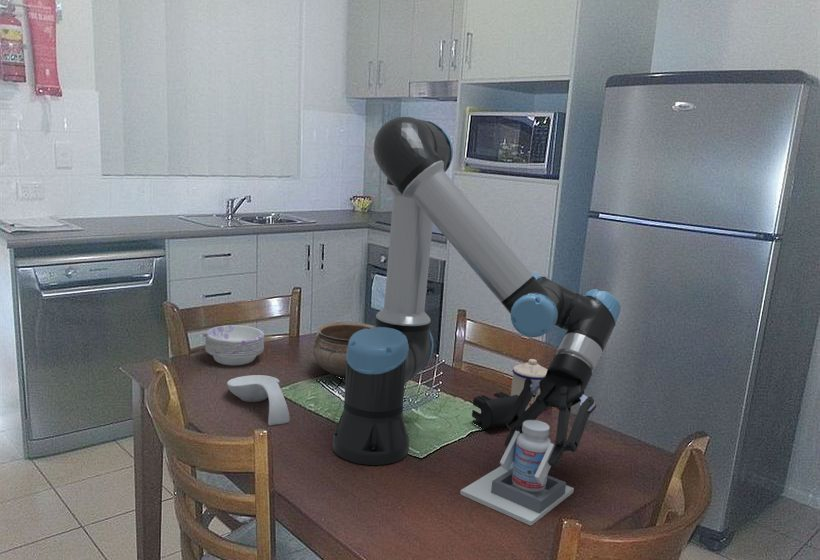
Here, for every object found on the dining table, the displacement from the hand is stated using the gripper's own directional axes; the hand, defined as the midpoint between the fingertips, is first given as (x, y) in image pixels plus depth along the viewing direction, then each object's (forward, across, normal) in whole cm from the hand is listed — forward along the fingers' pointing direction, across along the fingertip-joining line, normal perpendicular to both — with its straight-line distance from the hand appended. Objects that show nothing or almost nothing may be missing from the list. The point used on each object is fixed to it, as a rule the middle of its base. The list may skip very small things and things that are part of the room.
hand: (520, 473), depth 114 cm
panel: (+2, +2, -7) cm, 7 cm away
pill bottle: (0, 0, -5) cm, 5 cm away
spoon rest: (+7, +63, -2) cm, 64 cm away
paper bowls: (-3, +93, -12) cm, 94 cm away
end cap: (-15, +21, -24) cm, 35 cm away
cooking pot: (-14, +65, -22) cm, 70 cm away
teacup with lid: (-28, +22, -37) cm, 51 cm away
